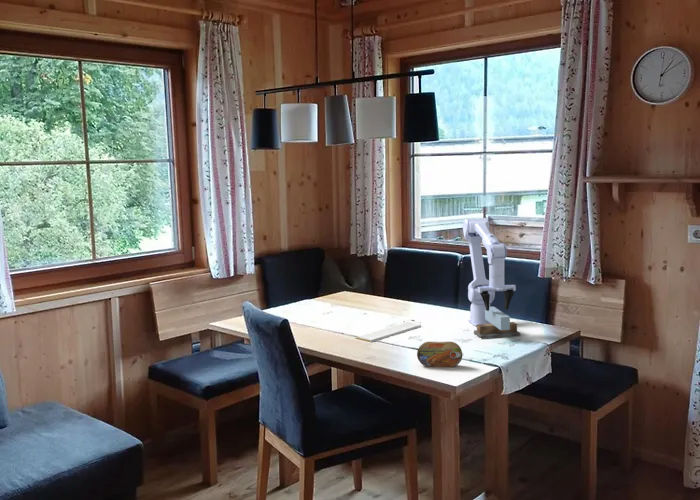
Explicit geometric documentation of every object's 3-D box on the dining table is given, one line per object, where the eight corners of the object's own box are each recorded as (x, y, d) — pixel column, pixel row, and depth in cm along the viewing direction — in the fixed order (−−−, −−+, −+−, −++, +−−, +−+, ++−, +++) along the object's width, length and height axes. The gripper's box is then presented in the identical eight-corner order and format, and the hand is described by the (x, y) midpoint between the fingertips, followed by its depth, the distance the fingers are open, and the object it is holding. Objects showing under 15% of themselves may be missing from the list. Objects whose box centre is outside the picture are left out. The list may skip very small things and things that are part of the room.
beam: (485, 319, 272) (484, 307, 271) (493, 318, 272) (493, 306, 271) (500, 330, 254) (500, 317, 253) (509, 329, 254) (509, 316, 254)
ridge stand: (480, 338, 259) (480, 328, 258) (473, 333, 267) (473, 323, 266) (520, 335, 261) (520, 325, 260) (512, 330, 269) (512, 320, 268)
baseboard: (352, 339, 266) (370, 344, 259) (352, 332, 266) (370, 336, 259) (402, 324, 287) (421, 328, 280) (402, 317, 287) (421, 321, 280)
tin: (417, 366, 228) (416, 342, 227) (417, 363, 231) (417, 340, 230) (462, 367, 225) (462, 343, 224) (462, 364, 228) (462, 340, 227)
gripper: (482, 278, 256) (482, 313, 257) (518, 275, 258) (518, 310, 259) (476, 274, 262) (476, 309, 264) (511, 272, 264) (511, 306, 266)
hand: (496, 309), depth 262 cm, fingers open, 7 cm apart
